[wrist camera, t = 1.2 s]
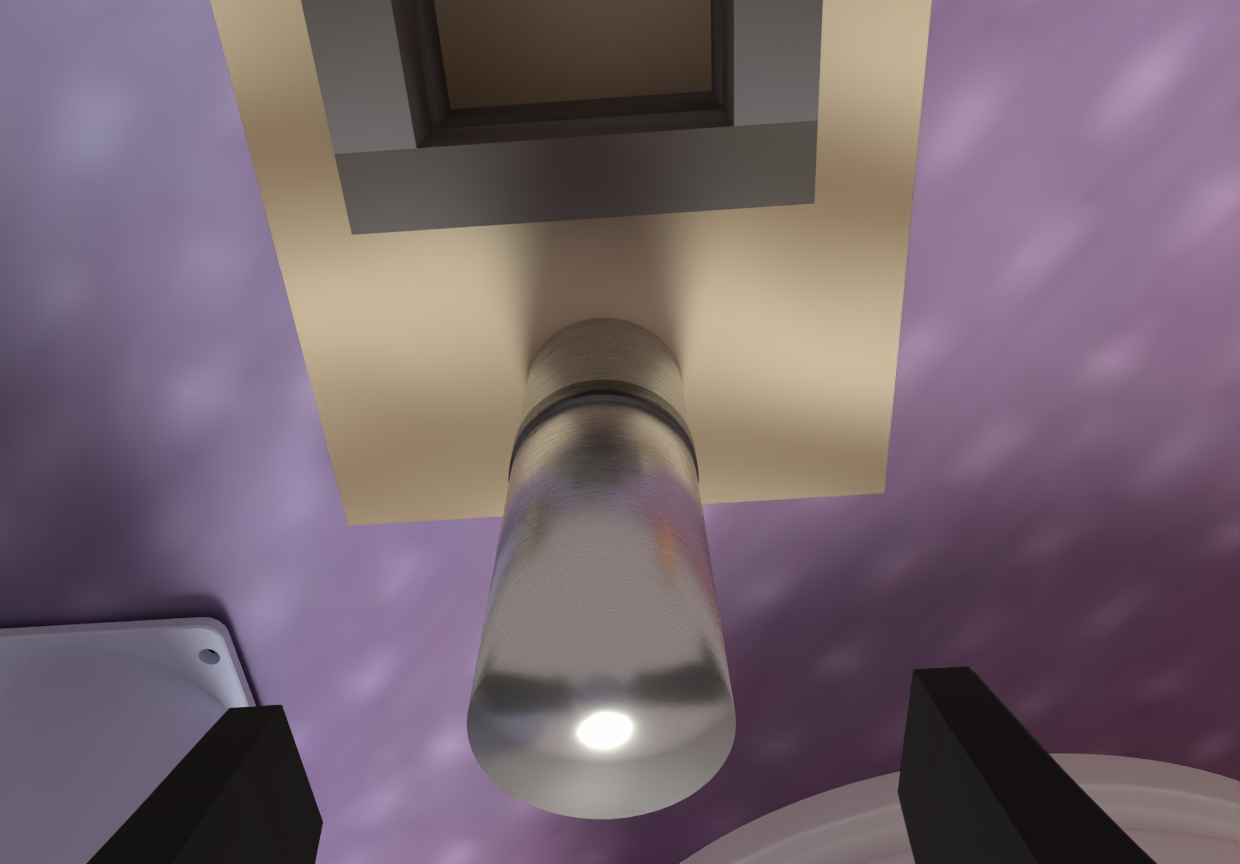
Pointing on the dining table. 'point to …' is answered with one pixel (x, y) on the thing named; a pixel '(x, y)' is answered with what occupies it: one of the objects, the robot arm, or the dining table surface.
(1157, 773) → the plate stack
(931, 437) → the dining table surface
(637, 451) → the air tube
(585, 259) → the wooden board with holder
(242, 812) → the robot arm
